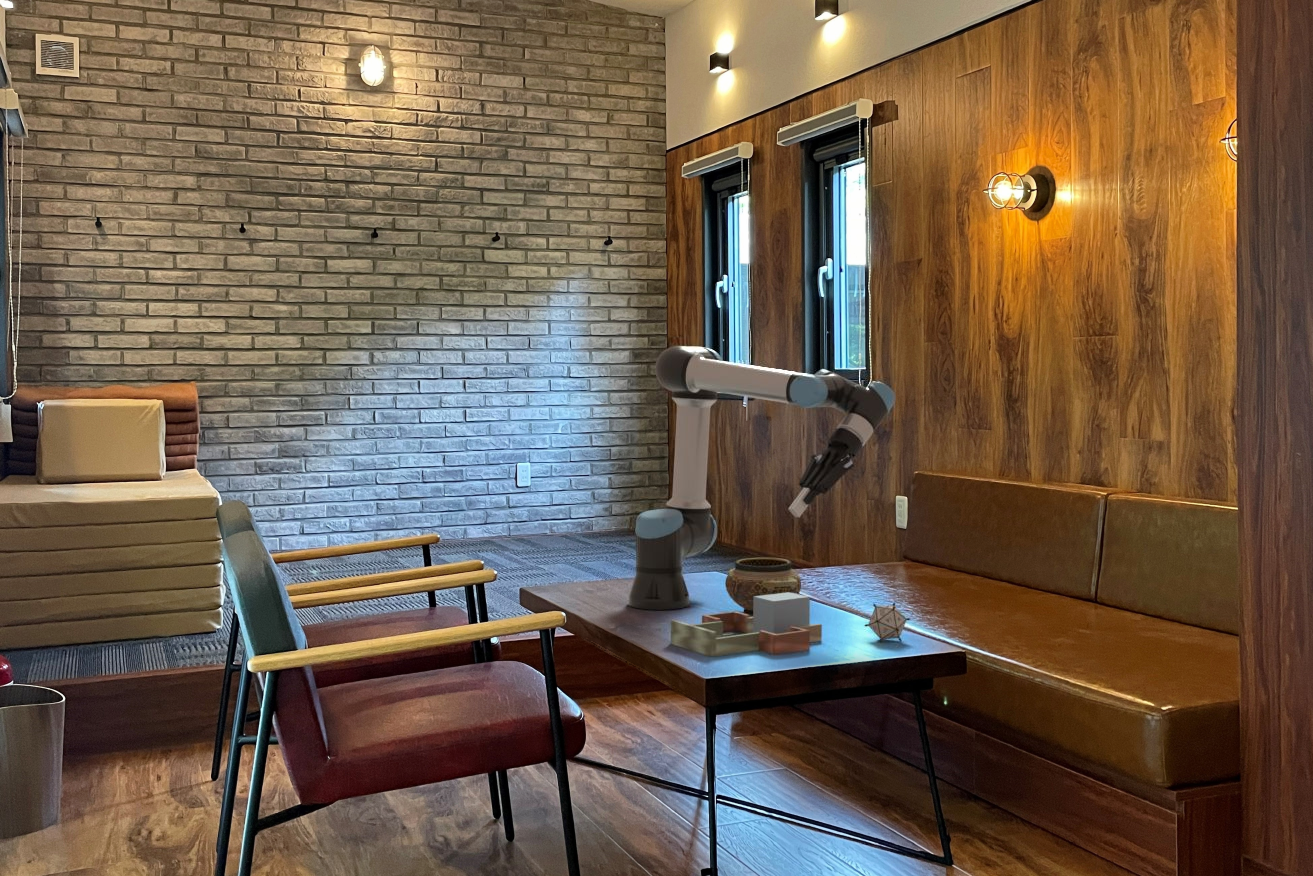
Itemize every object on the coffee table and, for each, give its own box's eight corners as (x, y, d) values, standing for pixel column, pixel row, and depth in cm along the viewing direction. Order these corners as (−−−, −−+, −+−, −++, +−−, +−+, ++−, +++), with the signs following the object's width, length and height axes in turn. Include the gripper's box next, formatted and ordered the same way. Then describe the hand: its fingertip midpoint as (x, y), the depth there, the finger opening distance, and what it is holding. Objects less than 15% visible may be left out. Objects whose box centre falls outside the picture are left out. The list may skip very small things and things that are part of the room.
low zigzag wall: (656, 639, 263) (656, 616, 263) (762, 624, 279) (762, 603, 279) (728, 662, 241) (728, 637, 241) (838, 645, 257) (838, 621, 257)
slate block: (753, 637, 265) (753, 596, 265) (788, 632, 271) (789, 592, 271) (773, 643, 260) (773, 601, 259) (809, 637, 265) (809, 596, 265)
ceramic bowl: (715, 618, 300) (702, 561, 298) (776, 596, 307) (763, 539, 305) (763, 638, 278) (749, 576, 276) (828, 613, 285) (815, 552, 282)
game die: (894, 659, 261) (909, 627, 255) (857, 643, 262) (871, 611, 256) (902, 632, 268) (917, 600, 262) (866, 617, 269) (880, 585, 263)
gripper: (878, 449, 279) (822, 526, 271) (839, 447, 290) (784, 521, 282) (860, 427, 276) (803, 504, 268) (822, 425, 287) (766, 499, 279)
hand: (793, 512), depth 275 cm, fingers closed
